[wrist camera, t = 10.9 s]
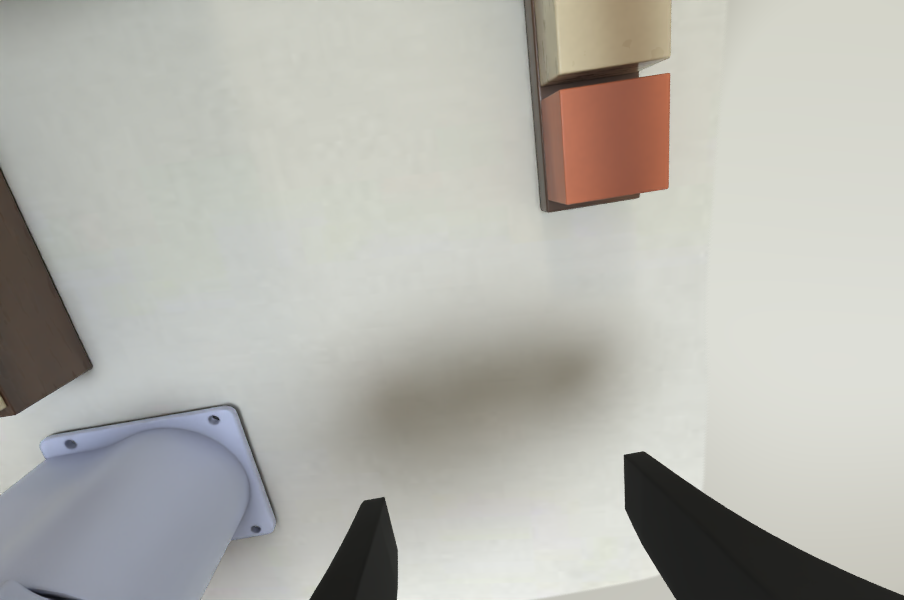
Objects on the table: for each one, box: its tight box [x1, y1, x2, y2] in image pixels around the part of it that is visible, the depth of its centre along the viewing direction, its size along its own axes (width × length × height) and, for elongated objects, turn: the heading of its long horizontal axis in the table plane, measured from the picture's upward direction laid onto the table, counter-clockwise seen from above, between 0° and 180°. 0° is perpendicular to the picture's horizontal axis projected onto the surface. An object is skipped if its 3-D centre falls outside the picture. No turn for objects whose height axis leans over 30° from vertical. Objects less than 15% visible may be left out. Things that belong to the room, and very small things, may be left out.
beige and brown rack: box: [524, 0, 671, 213], centre depth 15 cm, size 4×14×3 cm, turn 9°
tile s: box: [541, 73, 670, 205], centre depth 16 cm, size 4×4×2 cm
